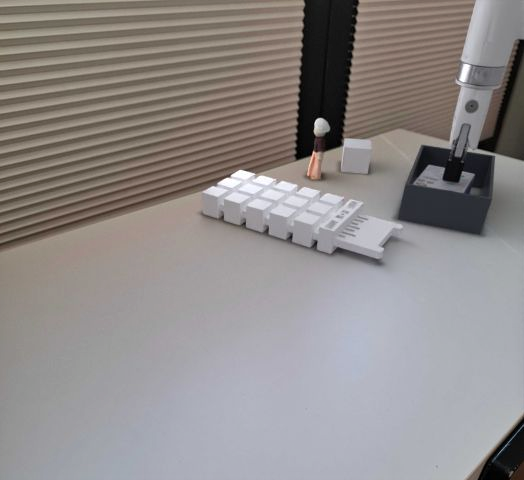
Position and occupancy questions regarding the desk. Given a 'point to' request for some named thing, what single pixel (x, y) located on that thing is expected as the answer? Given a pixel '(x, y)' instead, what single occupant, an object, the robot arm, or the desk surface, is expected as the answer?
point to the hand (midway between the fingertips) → (450, 180)
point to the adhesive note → (356, 156)
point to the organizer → (298, 214)
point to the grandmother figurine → (318, 148)
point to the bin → (448, 193)
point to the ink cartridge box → (434, 180)
